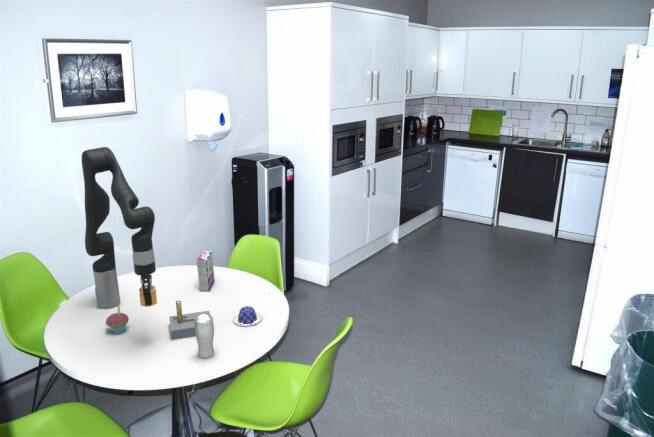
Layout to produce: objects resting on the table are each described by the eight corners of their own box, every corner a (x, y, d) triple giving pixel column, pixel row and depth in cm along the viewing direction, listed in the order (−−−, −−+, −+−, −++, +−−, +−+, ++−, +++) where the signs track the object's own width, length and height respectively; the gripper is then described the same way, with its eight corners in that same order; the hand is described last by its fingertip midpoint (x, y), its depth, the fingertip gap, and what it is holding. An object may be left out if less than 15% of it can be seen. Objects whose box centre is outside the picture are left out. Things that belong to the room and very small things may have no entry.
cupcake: (134, 326, 213) (131, 300, 209) (120, 337, 206) (116, 310, 202) (117, 323, 216) (113, 297, 212) (102, 333, 208) (98, 306, 204)
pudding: (227, 320, 219) (226, 309, 218) (250, 310, 227) (249, 299, 226) (244, 330, 211) (244, 319, 210) (267, 320, 219) (267, 309, 218)
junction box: (171, 339, 204) (170, 328, 202) (170, 324, 215) (169, 314, 213) (212, 333, 209) (212, 322, 207) (209, 319, 219) (209, 308, 218)
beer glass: (198, 349, 198) (195, 314, 193) (216, 348, 198) (214, 313, 194) (195, 359, 191) (192, 323, 186) (214, 358, 192) (211, 322, 187)
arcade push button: (140, 307, 194) (138, 291, 192) (141, 300, 199) (139, 284, 197) (157, 305, 196) (155, 288, 194) (156, 298, 201) (155, 282, 199)
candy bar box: (204, 281, 254) (202, 250, 249) (214, 281, 254) (212, 250, 249) (198, 291, 244) (196, 259, 238) (209, 291, 244) (207, 259, 238)
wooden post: (177, 323, 208) (175, 303, 205) (177, 321, 210) (175, 301, 207) (183, 322, 209) (181, 302, 206) (182, 320, 210) (180, 300, 208)
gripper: (133, 254, 197) (138, 294, 203) (132, 269, 185) (137, 311, 190) (154, 251, 200) (158, 291, 205) (154, 266, 187) (159, 308, 192)
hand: (148, 301), depth 197 cm, fingers closed on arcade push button, 5 cm apart
